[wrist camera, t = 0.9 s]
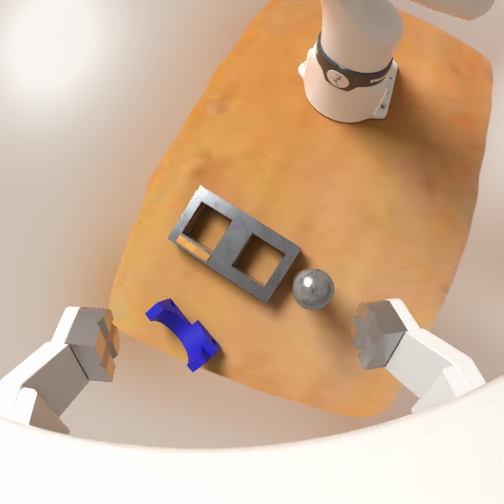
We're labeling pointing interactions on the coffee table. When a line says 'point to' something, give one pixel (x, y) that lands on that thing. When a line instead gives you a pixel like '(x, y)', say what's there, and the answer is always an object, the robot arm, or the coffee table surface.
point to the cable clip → (185, 333)
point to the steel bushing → (312, 288)
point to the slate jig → (232, 243)
